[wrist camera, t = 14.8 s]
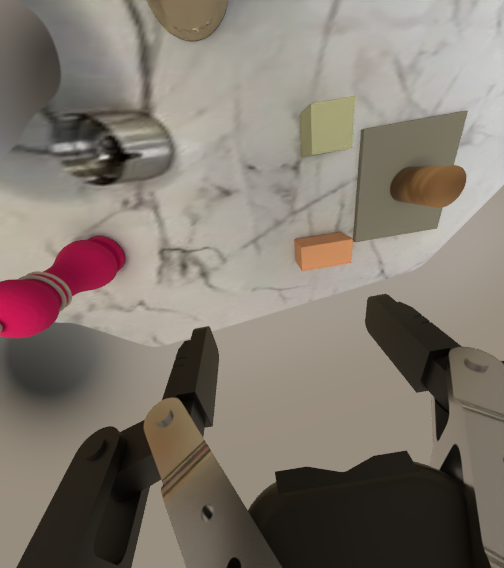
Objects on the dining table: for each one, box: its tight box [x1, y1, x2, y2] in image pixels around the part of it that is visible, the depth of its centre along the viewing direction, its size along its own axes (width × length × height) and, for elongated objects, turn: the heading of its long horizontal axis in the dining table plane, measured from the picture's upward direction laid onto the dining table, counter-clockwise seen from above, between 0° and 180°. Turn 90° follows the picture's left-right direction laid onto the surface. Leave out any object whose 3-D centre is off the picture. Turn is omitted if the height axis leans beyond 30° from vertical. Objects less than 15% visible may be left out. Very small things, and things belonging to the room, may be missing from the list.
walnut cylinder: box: [390, 165, 466, 208], centre depth 29 cm, size 5×5×7 cm
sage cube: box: [300, 96, 355, 157], centre depth 27 cm, size 5×5×5 cm
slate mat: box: [353, 111, 468, 242], centre depth 33 cm, size 16×14×1 cm
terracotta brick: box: [294, 232, 353, 271], centre depth 35 cm, size 8×4×4 cm, turn 99°
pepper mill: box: [0, 236, 125, 338], centre depth 27 cm, size 7×7×20 cm
